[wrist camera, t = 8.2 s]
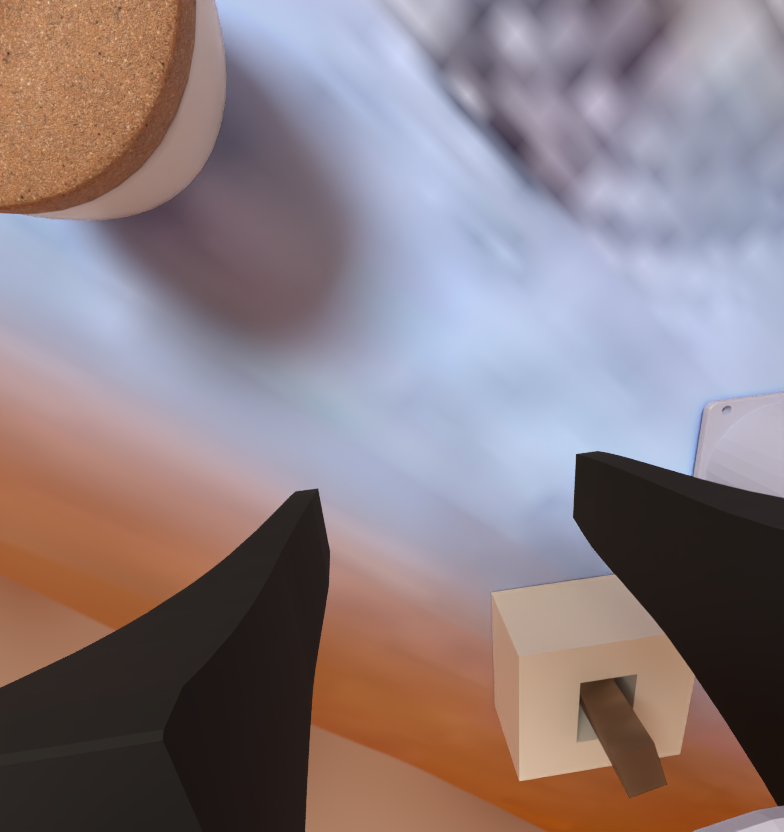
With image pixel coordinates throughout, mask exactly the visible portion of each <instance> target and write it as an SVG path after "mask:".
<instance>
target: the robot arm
mask: <svg viewBox="0 0 784 832" xmlns="http://www.w3.org/2000/svg"><path fill="white" fill-rule="evenodd" d="M724 407H725V409H724V410H723V408H724ZM722 410H723V411H722ZM573 518H574V520H575V521H576V523H577V525H578V526H579V528H580V529H581V531H582V533H583V534H584V536H585V537H586V539H587V540H588V542H589V543H590V545H591V546H592V548H593V549H594V550H595V551H596V553H597V554H598V555H599V556H600V557H601V559H602V560H603V561H604V562H605V563H606V564H607V566H608V567H609V568H610V569H611V570H612V572H613V573H614V574H615V575H616V576H617V577H618V578H619V580H620V581H621V582H622V583H623V584H624V585H625V587H626V588H627V589H628V590H629V591H630V592H631V593H632V595H633V596H634V597H635V598H636V599H637V600H638V602H639V603H640V604H641V605H642V606H643V607H644V609H645V610H646V611H647V612H648V613H649V614H650V615H651V617H652V618H653V619H654V620H655V622H656V623H657V624H658V625H659V627H660V628H661V629H662V630H663V632H664V633H665V634H666V636H667V637H668V638H669V640H670V641H671V643H672V644H673V645H674V647H675V648H676V650H677V651H678V652H679V654H680V655H681V657H682V658H683V659H684V661H685V662H686V664H687V665H688V666H689V668H690V669H691V671H692V672H693V673H694V675H695V676H696V678H697V679H698V681H699V682H700V684H701V685H702V687H703V688H704V690H705V691H706V693H707V694H708V696H709V697H710V699H711V700H712V702H713V703H714V705H715V706H716V708H717V709H718V711H719V712H720V714H721V715H722V717H723V718H724V720H725V721H726V723H727V724H728V726H729V727H730V729H731V731H732V732H733V734H734V735H735V737H736V739H737V740H738V742H739V743H740V745H741V746H742V748H743V750H744V751H745V753H746V754H747V756H748V758H749V759H750V761H751V762H752V764H753V766H754V767H755V769H756V770H757V772H758V773H759V775H760V777H761V778H762V780H763V781H764V783H765V785H766V787H767V788H768V790H769V792H770V793H771V795H772V797H773V798H774V800H775V802H776V803H777V805H778V807H773V808H767V809H761V810H756V811H752V812H749V813H746V814H743V815H740V816H737V817H734V818H731V819H728V820H725V821H722V822H719V823H716V824H713V825H710V826H707V827H704V828H701V829H698V830H695V831H693V832H784V392H778V393H770V394H762V395H755V396H747V397H739V398H731V399H724V400H716V401H712V402H709V403H708V404H707V405H706V406H705V408H704V411H703V417H702V424H701V430H700V436H699V443H698V449H697V455H696V462H695V468H694V475H693V477H692V476H689V475H685V474H682V473H678V472H675V471H671V470H668V469H664V468H661V467H658V466H654V465H651V464H647V463H644V462H640V461H637V460H634V459H630V458H626V457H623V456H619V455H615V454H610V453H606V452H600V451H596V452H588V453H581V454H576V469H575V490H574V511H573ZM329 568H330V549H329V544H328V539H327V534H326V528H325V523H324V518H323V513H322V507H321V502H320V497H319V491H318V489H311V490H304V491H296V492H295V493H293V494H292V495H291V496H290V497H289V498H288V499H287V500H286V501H285V502H284V503H283V504H282V505H281V506H280V507H279V508H278V509H277V510H276V511H275V512H274V513H273V514H272V515H271V516H270V517H269V518H268V519H267V520H266V521H265V522H264V523H263V524H262V525H261V526H260V527H259V528H258V529H257V530H256V531H255V532H254V533H253V534H252V535H251V536H250V537H249V538H248V539H246V540H245V541H244V542H243V543H242V544H241V545H240V546H239V547H238V548H236V549H235V550H234V551H233V552H232V553H231V554H230V555H229V556H227V557H226V558H225V559H224V560H223V561H221V562H220V563H219V564H217V565H216V566H215V567H214V568H212V569H211V570H210V571H208V572H207V573H206V574H204V575H203V576H202V577H200V578H199V579H198V580H196V581H195V582H194V583H192V584H191V585H189V586H188V587H186V588H185V589H183V590H182V591H180V592H179V593H177V594H176V595H174V596H172V597H171V598H169V599H168V600H166V601H165V602H163V603H162V604H160V605H159V606H157V607H155V608H154V609H152V610H151V611H149V612H148V613H146V614H144V615H143V616H141V617H139V618H138V619H136V620H134V621H132V622H131V623H129V624H127V625H125V626H124V627H122V628H120V629H118V630H117V631H115V632H113V633H111V634H109V635H107V636H106V637H104V638H102V639H100V640H98V641H96V642H94V643H92V644H91V645H89V646H87V647H85V648H83V649H81V650H79V651H77V652H75V653H73V654H71V655H69V656H67V657H65V658H63V659H60V660H58V661H56V662H54V663H52V664H50V665H48V666H46V667H44V668H42V669H39V670H37V671H35V672H33V673H31V674H29V675H27V676H25V677H23V678H21V679H18V680H16V681H14V682H12V683H10V684H8V685H5V686H3V687H1V688H0V832H305V819H306V796H307V776H308V758H309V740H310V725H311V710H312V695H313V684H314V676H315V668H316V661H317V655H318V649H319V643H320V637H321V631H322V625H323V619H324V613H325V607H326V600H327V594H328V587H329Z"/></svg>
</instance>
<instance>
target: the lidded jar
mask: <svg viewBox="0 0 784 832" xmlns="http://www.w3.org/2000/svg"><path fill="white" fill-rule="evenodd" d="M226 82H227V73H226V60H225V48H224V42H223V35H222V29H221V24H220V20H219V15H218V10H217V6H216V1H215V0H0V213H11V214H23V215H28V216H34V217H40V218H47V219H58V220H83V221H99V220H107V219H115V218H122V217H128V216H133V215H136V214H139V213H143V212H146V211H149V210H152V209H154V208H156V207H158V206H160V205H162V204H163V203H165V202H167V201H169V200H171V199H172V198H173V197H175V196H176V195H177V194H178V193H179V192H181V191H182V190H183V189H184V188H186V187H187V186H188V185H189V184H190V183H191V182H192V180H193V179H194V178H195V177H196V176H197V174H198V173H199V172H200V171H201V170H202V168H203V166H204V165H205V163H206V161H207V159H208V158H209V156H210V154H211V152H212V150H213V147H214V145H215V142H216V139H217V137H218V134H219V131H220V128H221V123H222V118H223V112H224V107H225V101H226Z"/></svg>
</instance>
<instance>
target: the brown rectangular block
mask: <svg viewBox="0 0 784 832" xmlns="http://www.w3.org/2000/svg"><path fill="white" fill-rule="evenodd" d="M579 703H580V705H581V707H582V709H583V711H584V713H585V715H586V717H587V719H588V720H589V722H590V724H591V726H592V728H593V730H594V732H595V734H596V736H597V737H598V739H599V741H600V743H601V745H602V747H603V749H604V751H605V753H606V755H607V756H608V758H609V760H610V762H611V764H612V766H613V768H614V770H615V772H616V774H617V775H618V777H619V779H620V781H621V783H622V785H623V787H624V789H625V791H626V793H627V794H628V796H629V798H631V797H634V796H637V795H640V794H642V793H645V792H648V791H651V790H653V789H656V788H659V787H662V786H664V785H667V782H666V779H665V776H664V772H663V769H662V766H661V763H660V759H659V756H658V753H657V750H656V746H655V743H654V741H653V740H652V738H651V737H650V735H649V734H648V732H647V731H646V729H645V727H644V726H643V724H642V723H641V721H640V720H639V718H638V717H637V715H636V714H635V712H634V710H633V709H632V707H631V706H630V704H629V703H628V701H627V700H626V698H625V696H624V695H623V693H622V692H621V690H620V689H619V687H618V686H617V684H616V683H615V681H614V679H613V678H609V679H603V680H597V681H590V682H584V683H580V697H579Z"/></svg>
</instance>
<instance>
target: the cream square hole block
mask: <svg viewBox="0 0 784 832" xmlns="http://www.w3.org/2000/svg"><path fill="white" fill-rule="evenodd" d="M491 603H492V634H493V665H494V696H495V707H496V710H497V713H498V717H499V720H500V723H501V726H502V729H503V732H504V735H505V738H506V741H507V744H508V748H509V751H510V754H511V757H512V760H513V763H514V766H515V769H516V772H517V775H518V779H519V781H523V780H529V779H535V778H541V777H547V776H553V775H559V774H565V773H571V772H577V771H583V770H589V769H595V768H601V767H607V766H612V764H611V762H610V760H609V758H608V756H607V755H606V753H605V751H604V749H603V747H602V745H601V743H600V741H599V739H598V737H597V736H596V734H595V732H594V730H593V728H592V726H591V724H590V722H589V720H588V719H587V717H586V715H585V713H584V711H583V709H582V707H581V705H580V703H579V697H580V683H584V682H590V681H597V680H603V679H609V678H613V679H614V681H615V683H616V684H617V686H618V687H619V689H620V690H621V692H622V693H623V695H624V696H625V698H626V700H627V701H628V703H629V704H630V706H631V707H632V709H633V710H634V712H635V714H636V715H637V717H638V718H639V720H640V721H641V723H642V724H643V726H644V727H645V729H646V731H647V732H648V734H649V735H650V737H651V738H652V740H653V741H654V743H655V746H656V750H657V753H658V756H659V758H661V757H666V756H672V755H678V754H680V752H681V747H682V741H683V736H684V731H685V726H686V721H687V716H688V711H689V705H690V700H691V695H692V690H693V685H694V680H695V675H694V673H693V672H692V671H691V669H690V668H689V666H688V665H687V664H686V662H685V661H684V659H683V658H682V657H681V655H680V654H679V652H678V651H677V650H676V648H675V647H674V645H673V644H672V643H671V641H670V640H669V638H668V637H667V636H666V634H665V633H664V632H663V630H662V629H661V628H660V627H659V625H658V624H657V623H656V622H655V620H654V619H653V618H652V617H651V615H650V614H649V613H648V612H647V611H646V610H645V609H644V607H643V606H642V605H641V604H640V603H639V602H638V600H637V599H636V598H635V597H634V596H633V595H632V593H631V592H630V591H629V590H628V589H627V588H626V587H625V585H624V584H623V583H622V582H621V581H620V580H619V578H618V577H617V576H616V575H615V574H613V575H606V576H599V577H592V578H586V579H579V580H572V581H565V582H558V583H552V584H545V585H538V586H531V587H524V588H518V589H511V590H504V591H497V592H491Z"/></svg>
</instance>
